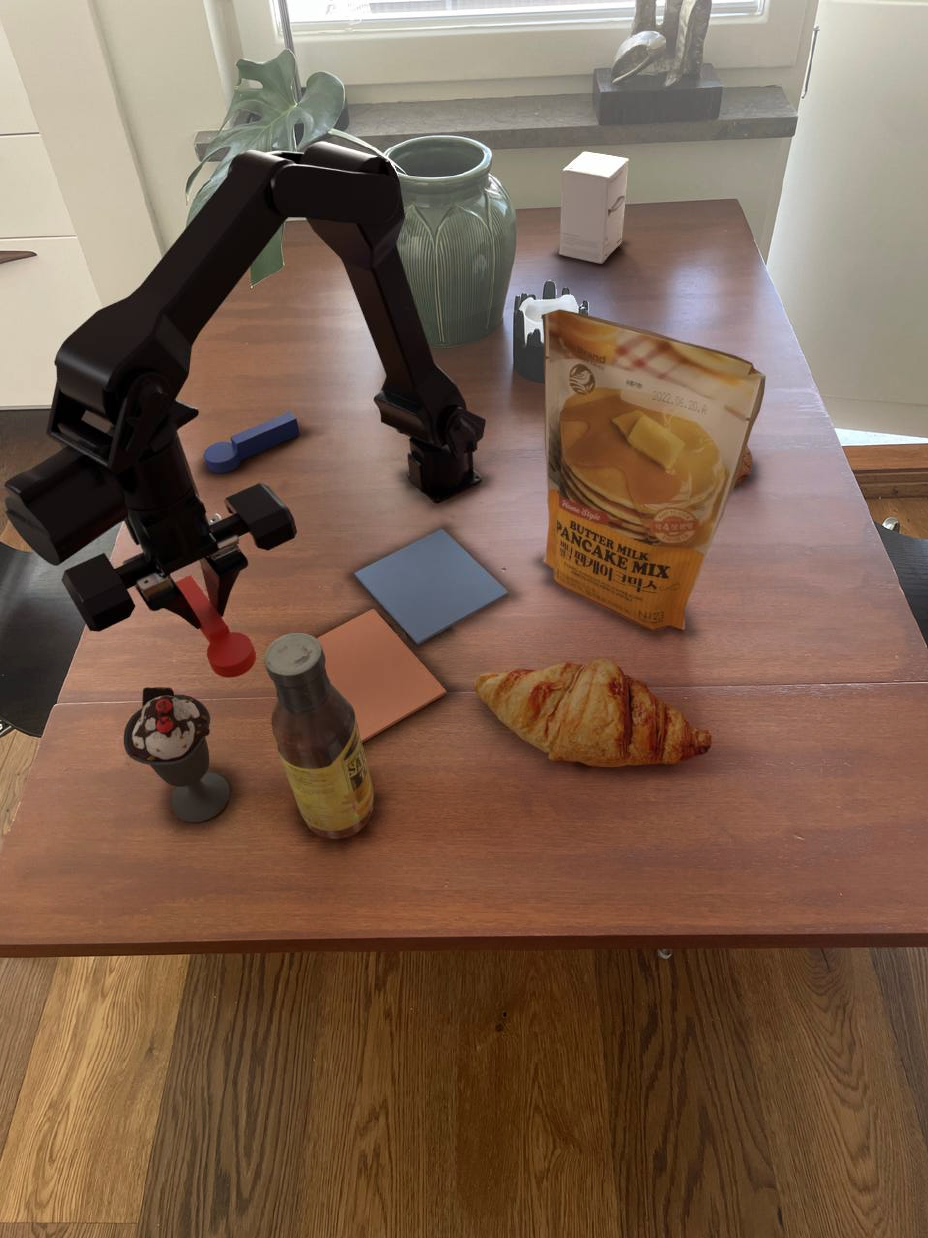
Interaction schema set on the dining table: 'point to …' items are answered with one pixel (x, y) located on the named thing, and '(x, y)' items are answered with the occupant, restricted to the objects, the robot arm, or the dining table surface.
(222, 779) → the sundae
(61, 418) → the robot arm
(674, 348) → the pancake mix bag
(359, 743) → the sauce bottle
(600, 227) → the white packaging box
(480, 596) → the blue mat
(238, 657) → the red spoon
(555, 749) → the croissant
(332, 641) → the red mat
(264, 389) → the dining table surface
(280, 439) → the blue spoon
